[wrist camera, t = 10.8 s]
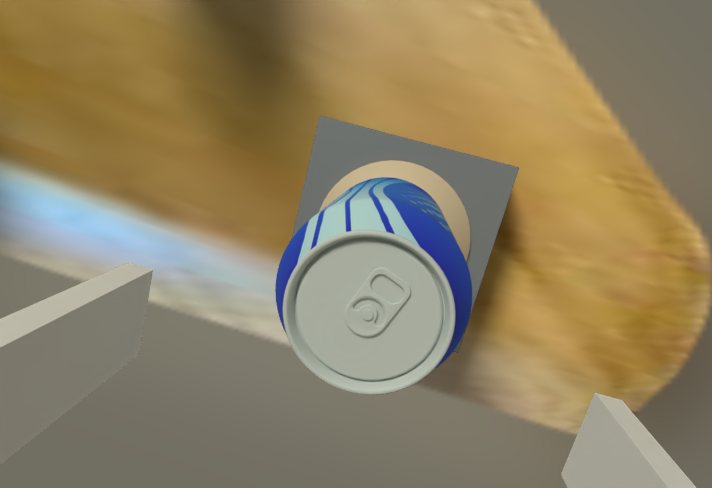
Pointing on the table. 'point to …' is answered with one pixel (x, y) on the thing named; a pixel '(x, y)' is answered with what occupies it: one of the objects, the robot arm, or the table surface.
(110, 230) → the table surface
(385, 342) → the beer can
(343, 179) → the riser
